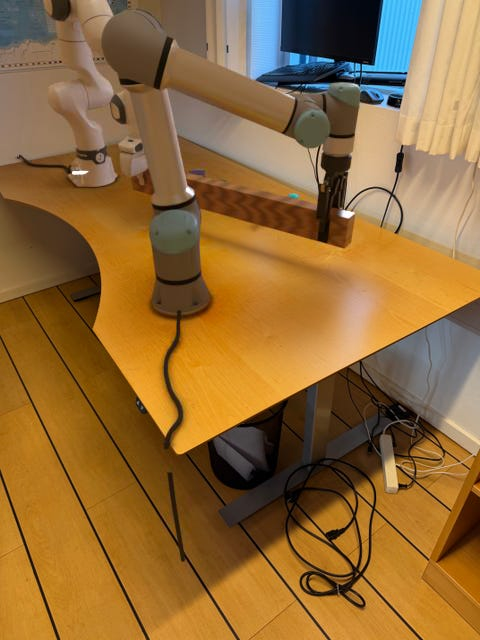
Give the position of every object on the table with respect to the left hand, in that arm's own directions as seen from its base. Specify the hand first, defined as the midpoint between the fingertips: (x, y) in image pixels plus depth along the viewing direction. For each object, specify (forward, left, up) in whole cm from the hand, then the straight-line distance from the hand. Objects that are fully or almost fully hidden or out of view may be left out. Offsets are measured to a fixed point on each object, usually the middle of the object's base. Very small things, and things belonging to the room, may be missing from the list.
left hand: (149, 181), depth 161 cm
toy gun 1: (-12, +36, -14) cm, 41 cm away
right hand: (+65, +14, -3) cm, 67 cm away
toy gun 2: (+24, +34, -14) cm, 43 cm away
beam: (+33, +7, -3) cm, 34 cm away
